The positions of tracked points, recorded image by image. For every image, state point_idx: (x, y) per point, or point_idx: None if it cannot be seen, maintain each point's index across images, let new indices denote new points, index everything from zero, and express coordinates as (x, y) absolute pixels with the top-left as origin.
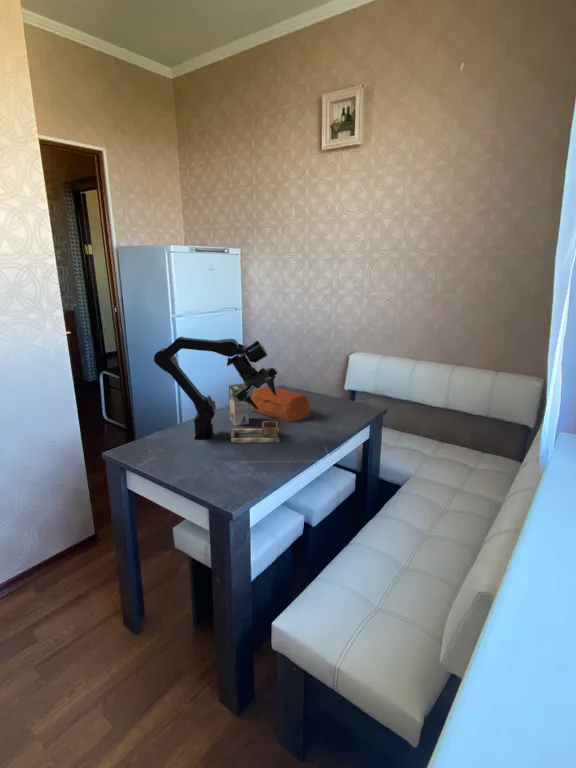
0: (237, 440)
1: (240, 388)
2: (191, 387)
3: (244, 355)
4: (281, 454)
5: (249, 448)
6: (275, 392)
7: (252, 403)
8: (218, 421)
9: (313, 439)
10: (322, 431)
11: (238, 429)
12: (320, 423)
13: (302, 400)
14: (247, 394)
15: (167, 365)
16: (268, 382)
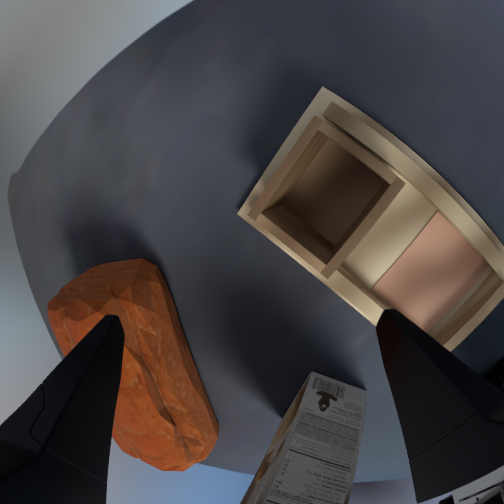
0: (496, 249)
1: None
2: None
3: None
4: (386, 23)
5: (477, 167)
6: (90, 334)
7: (458, 368)
8: (364, 448)
9: (181, 75)
10: (119, 128)
11: None
12: (94, 195)
13: (62, 299)
14: (265, 494)
15: None
16: (65, 492)
